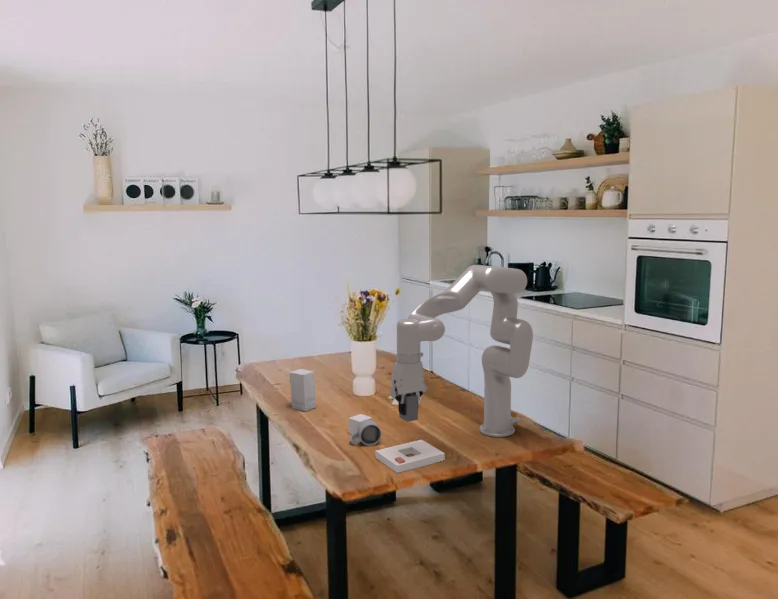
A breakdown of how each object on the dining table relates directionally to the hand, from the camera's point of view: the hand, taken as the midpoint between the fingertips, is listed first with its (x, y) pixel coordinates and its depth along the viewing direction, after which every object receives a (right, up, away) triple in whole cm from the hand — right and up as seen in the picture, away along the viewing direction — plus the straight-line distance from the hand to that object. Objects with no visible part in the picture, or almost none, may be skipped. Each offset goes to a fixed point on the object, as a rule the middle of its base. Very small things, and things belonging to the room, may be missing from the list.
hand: (408, 412), depth 206 cm
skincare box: (-41, -8, +54) cm, 69 cm away
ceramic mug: (-15, -14, +18) cm, 27 cm away
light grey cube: (-17, -13, +26) cm, 33 cm away
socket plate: (0, -16, +3) cm, 16 cm away
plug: (0, -2, 0) cm, 2 cm away
